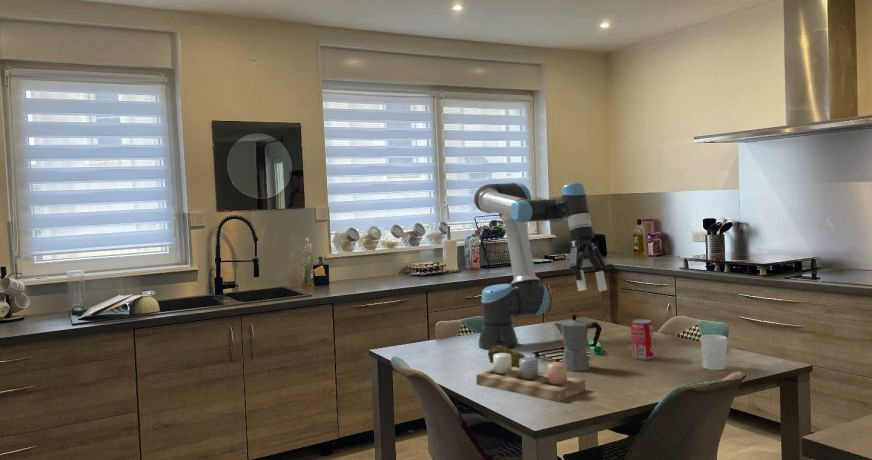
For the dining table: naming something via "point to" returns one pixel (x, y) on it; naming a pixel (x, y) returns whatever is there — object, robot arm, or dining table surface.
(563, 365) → the pink egg
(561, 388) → the wooden egg rack
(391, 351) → the dining table surface
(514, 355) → the potato
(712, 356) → the white cup
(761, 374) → the dining table surface
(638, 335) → the soda can
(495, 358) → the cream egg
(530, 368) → the slate egg
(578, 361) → the coffeepot
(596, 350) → the candy
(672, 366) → the dining table surface
